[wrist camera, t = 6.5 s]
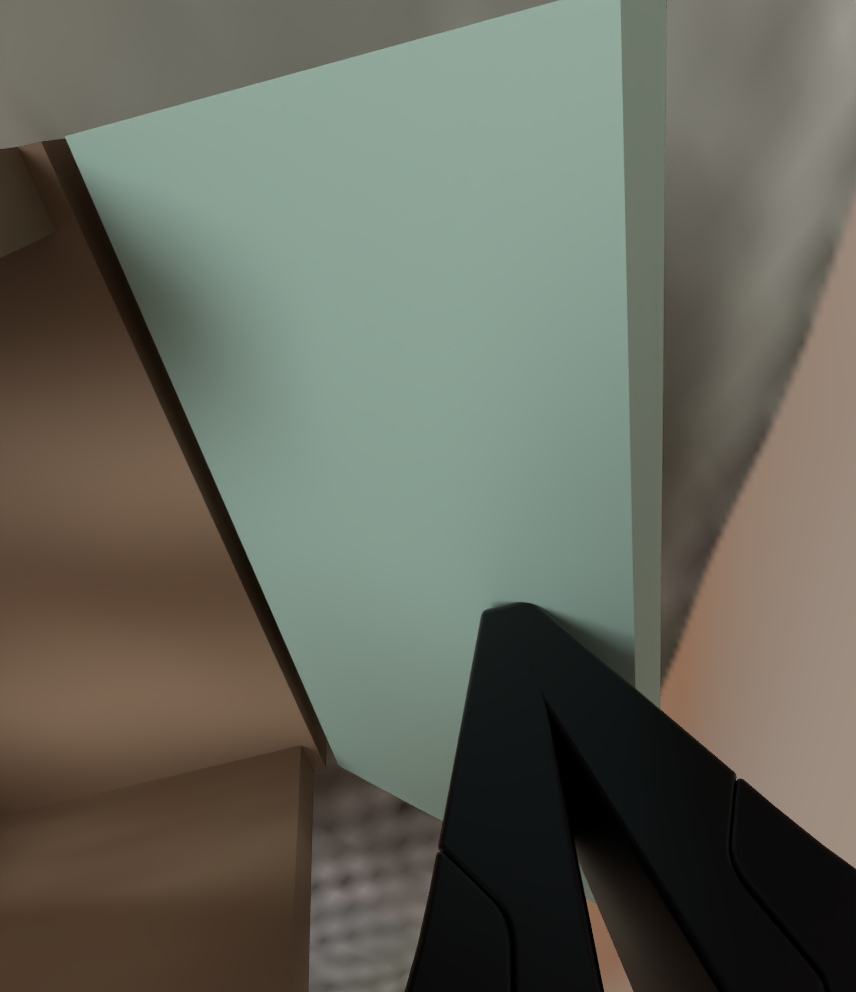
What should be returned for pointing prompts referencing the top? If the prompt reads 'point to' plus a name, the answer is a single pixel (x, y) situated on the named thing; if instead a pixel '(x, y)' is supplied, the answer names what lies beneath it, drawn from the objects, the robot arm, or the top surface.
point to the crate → (130, 650)
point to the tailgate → (421, 350)
